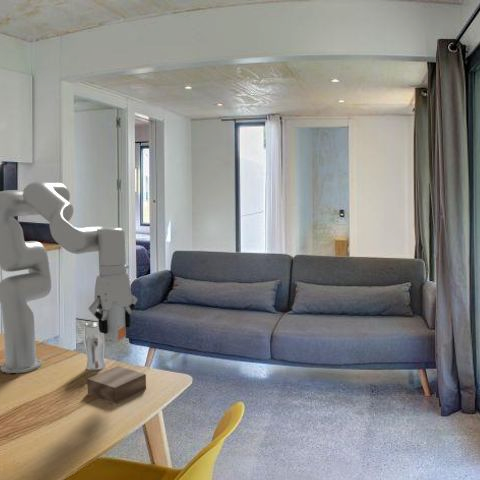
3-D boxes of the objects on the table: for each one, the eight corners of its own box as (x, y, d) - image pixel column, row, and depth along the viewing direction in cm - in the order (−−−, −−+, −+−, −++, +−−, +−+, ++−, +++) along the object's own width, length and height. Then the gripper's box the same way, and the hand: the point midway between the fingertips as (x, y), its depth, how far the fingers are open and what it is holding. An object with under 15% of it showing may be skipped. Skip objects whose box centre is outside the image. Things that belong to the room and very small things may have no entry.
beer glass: (94, 372, 159) (93, 328, 158) (80, 368, 163) (78, 325, 161) (110, 366, 165) (109, 323, 164) (96, 362, 169) (95, 320, 167)
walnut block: (87, 394, 143) (87, 378, 142) (118, 381, 153) (118, 366, 152) (115, 404, 136) (114, 387, 136) (146, 390, 146) (145, 374, 146)
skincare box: (117, 343, 140) (116, 303, 138) (104, 343, 140) (102, 302, 139) (126, 337, 145) (125, 298, 144) (113, 336, 146) (112, 297, 145)
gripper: (129, 265, 150) (131, 321, 152) (78, 273, 137) (81, 334, 138) (144, 267, 145) (146, 325, 147) (93, 275, 132) (96, 339, 134)
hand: (115, 329), depth 143 cm, fingers closed on skincare box, 7 cm apart
